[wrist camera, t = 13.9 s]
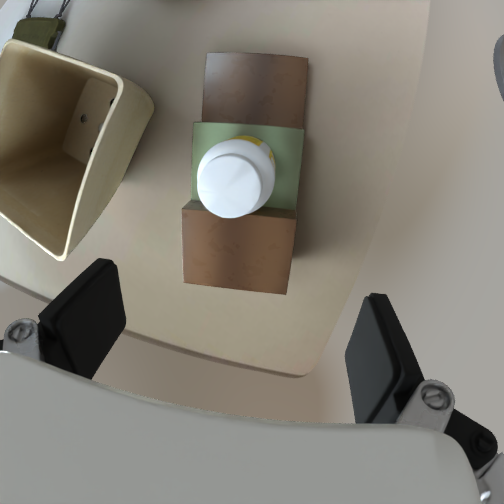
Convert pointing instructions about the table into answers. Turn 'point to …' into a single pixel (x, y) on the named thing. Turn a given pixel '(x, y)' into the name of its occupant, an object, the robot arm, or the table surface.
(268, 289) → the tier shelf
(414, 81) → the table surface
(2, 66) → the flower pot
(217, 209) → the pill bottle
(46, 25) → the landmine
